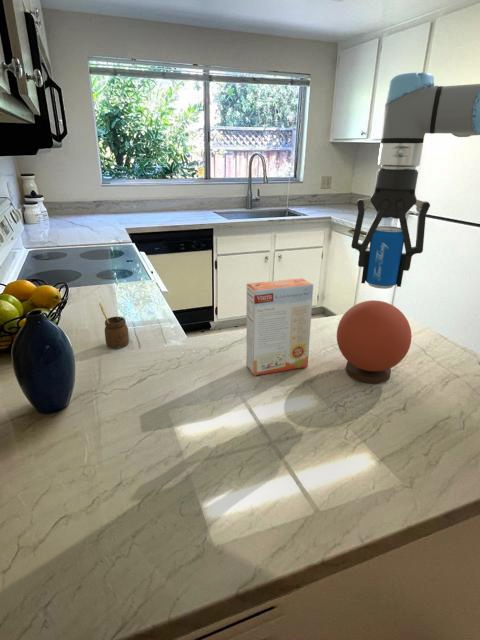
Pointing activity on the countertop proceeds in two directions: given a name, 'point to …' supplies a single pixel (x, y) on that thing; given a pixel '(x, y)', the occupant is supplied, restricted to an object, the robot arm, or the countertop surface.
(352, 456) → the countertop surface
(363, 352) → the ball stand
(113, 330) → the brown jar with stick
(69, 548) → the countertop surface
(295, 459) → the countertop surface
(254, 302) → the cracker box
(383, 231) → the beverage can
